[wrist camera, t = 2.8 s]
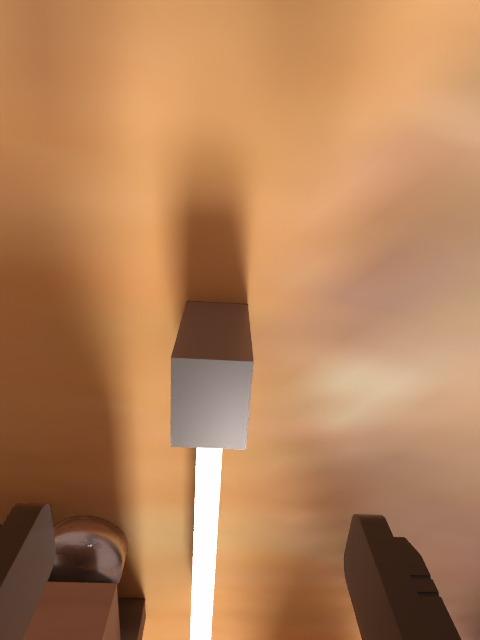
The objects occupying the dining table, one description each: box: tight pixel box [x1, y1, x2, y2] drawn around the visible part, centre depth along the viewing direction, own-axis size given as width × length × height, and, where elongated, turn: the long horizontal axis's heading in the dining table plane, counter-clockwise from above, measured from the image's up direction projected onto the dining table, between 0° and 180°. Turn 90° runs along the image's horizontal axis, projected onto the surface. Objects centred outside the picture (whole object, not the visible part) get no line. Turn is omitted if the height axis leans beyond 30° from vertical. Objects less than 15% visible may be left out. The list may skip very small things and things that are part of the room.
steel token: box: [47, 516, 128, 585], centre depth 26 cm, size 5×5×2 cm
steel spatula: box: [171, 301, 253, 640], centre depth 22 cm, size 20×3×6 cm, turn 176°
